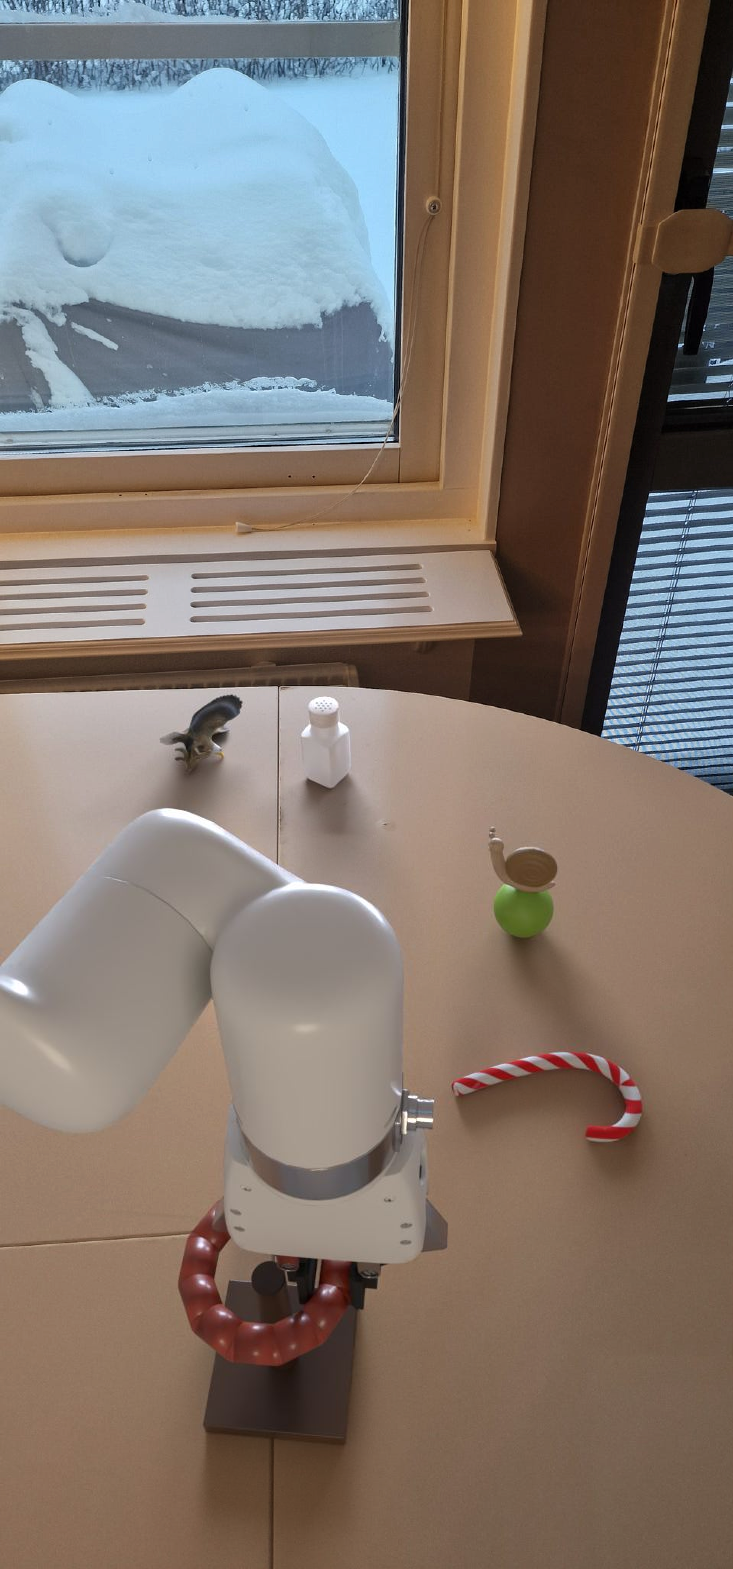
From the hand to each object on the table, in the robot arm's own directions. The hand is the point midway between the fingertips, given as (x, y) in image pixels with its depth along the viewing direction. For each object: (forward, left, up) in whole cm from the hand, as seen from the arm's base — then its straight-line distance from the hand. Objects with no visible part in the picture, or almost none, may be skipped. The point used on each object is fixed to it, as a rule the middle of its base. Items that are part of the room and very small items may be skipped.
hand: (334, 1279), depth 59 cm
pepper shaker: (-8, +59, -14) cm, 61 cm away
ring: (-4, 0, +1) cm, 4 cm away
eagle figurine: (-22, +62, -14) cm, 67 cm away
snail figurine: (+12, +39, -14) cm, 43 cm away
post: (-4, 0, -14) cm, 14 cm away
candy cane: (+14, +21, -14) cm, 29 cm away
